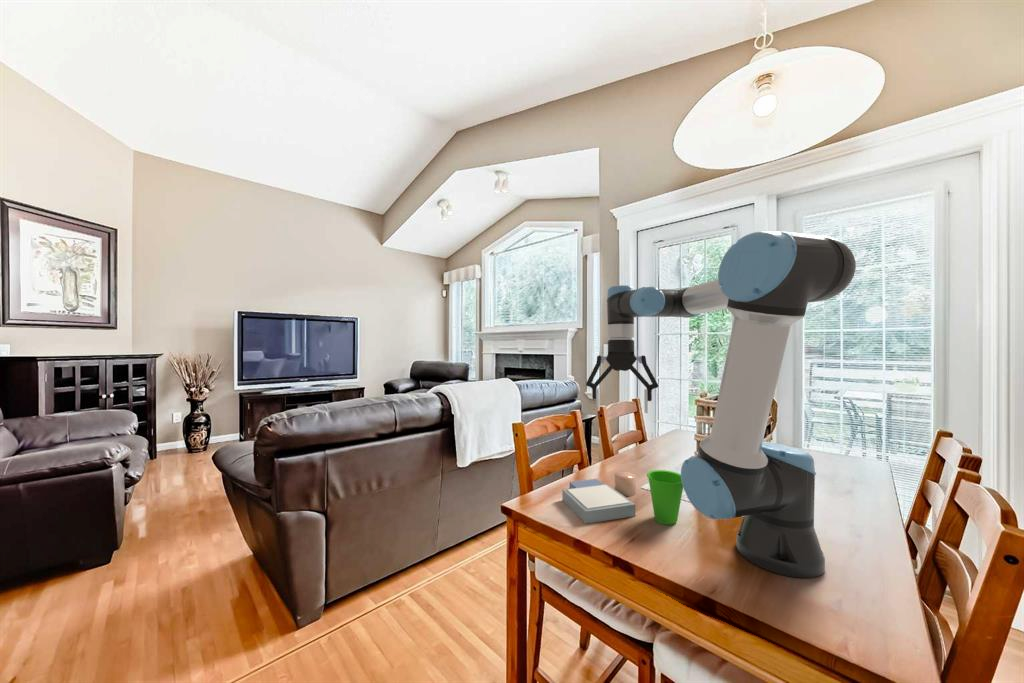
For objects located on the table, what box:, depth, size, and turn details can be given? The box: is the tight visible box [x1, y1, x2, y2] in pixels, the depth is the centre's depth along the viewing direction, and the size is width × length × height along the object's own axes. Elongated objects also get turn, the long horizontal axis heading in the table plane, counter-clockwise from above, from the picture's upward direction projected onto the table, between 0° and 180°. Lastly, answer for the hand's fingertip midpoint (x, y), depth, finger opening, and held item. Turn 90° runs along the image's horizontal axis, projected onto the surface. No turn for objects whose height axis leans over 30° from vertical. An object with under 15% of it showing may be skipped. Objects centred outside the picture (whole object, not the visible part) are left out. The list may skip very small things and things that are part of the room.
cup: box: [646, 469, 684, 526], centre depth 96 cm, size 9×9×11 cm
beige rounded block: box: [614, 471, 637, 497], centre depth 113 cm, size 6×6×5 cm
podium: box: [561, 483, 636, 524], centre depth 103 cm, size 14×14×3 cm
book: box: [569, 478, 604, 489], centre depth 115 cm, size 6×9×2 cm
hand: (621, 411), depth 113 cm, fingers open, 13 cm apart
